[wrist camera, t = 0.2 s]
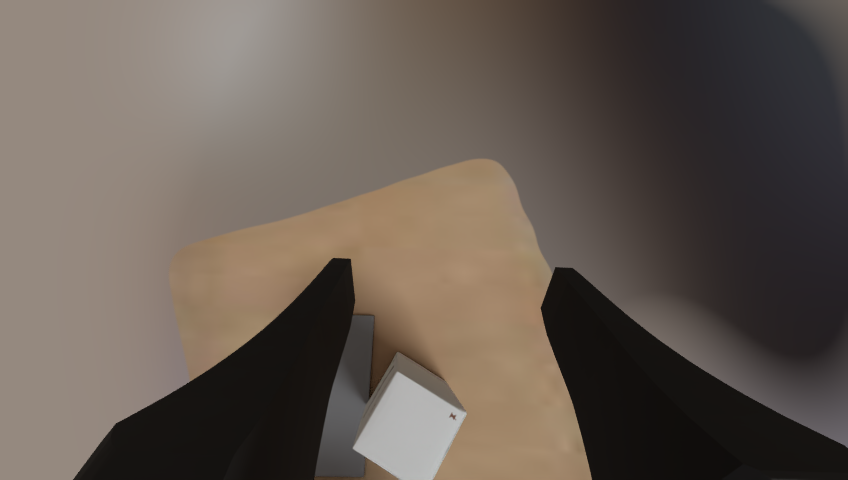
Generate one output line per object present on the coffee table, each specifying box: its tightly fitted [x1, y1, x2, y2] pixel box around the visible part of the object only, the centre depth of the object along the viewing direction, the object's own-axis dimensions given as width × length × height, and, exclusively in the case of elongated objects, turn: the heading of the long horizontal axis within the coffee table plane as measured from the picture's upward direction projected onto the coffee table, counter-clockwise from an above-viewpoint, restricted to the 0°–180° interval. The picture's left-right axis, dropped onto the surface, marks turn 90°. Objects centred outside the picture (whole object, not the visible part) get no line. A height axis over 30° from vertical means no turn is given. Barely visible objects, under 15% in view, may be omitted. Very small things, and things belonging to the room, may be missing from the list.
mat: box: [315, 315, 374, 477], centre depth 40 cm, size 18×11×1 cm, turn 178°
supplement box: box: [352, 352, 467, 480], centre depth 34 cm, size 7×7×13 cm
